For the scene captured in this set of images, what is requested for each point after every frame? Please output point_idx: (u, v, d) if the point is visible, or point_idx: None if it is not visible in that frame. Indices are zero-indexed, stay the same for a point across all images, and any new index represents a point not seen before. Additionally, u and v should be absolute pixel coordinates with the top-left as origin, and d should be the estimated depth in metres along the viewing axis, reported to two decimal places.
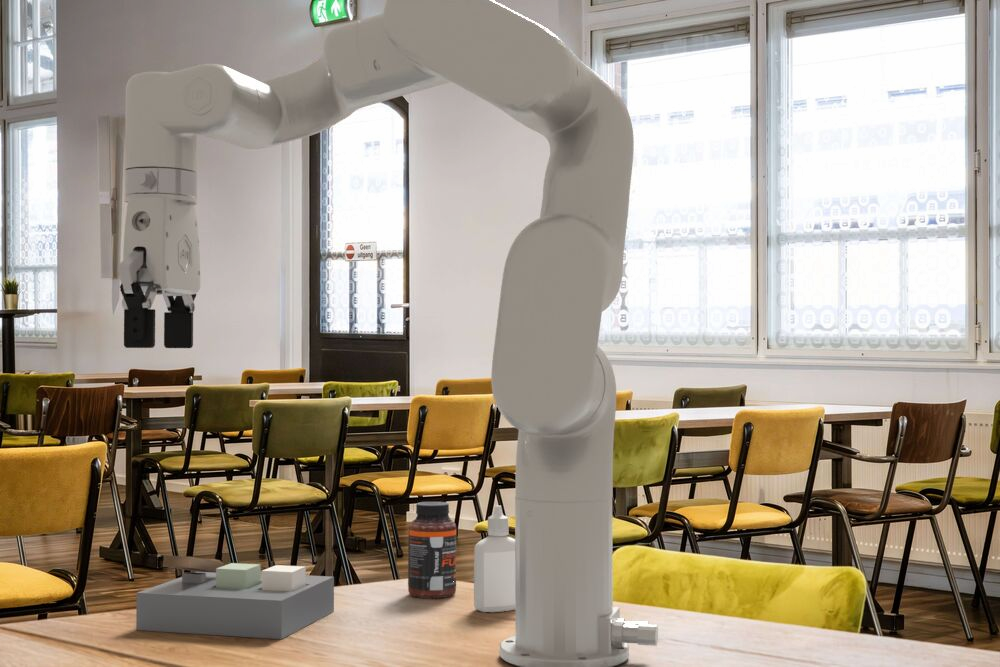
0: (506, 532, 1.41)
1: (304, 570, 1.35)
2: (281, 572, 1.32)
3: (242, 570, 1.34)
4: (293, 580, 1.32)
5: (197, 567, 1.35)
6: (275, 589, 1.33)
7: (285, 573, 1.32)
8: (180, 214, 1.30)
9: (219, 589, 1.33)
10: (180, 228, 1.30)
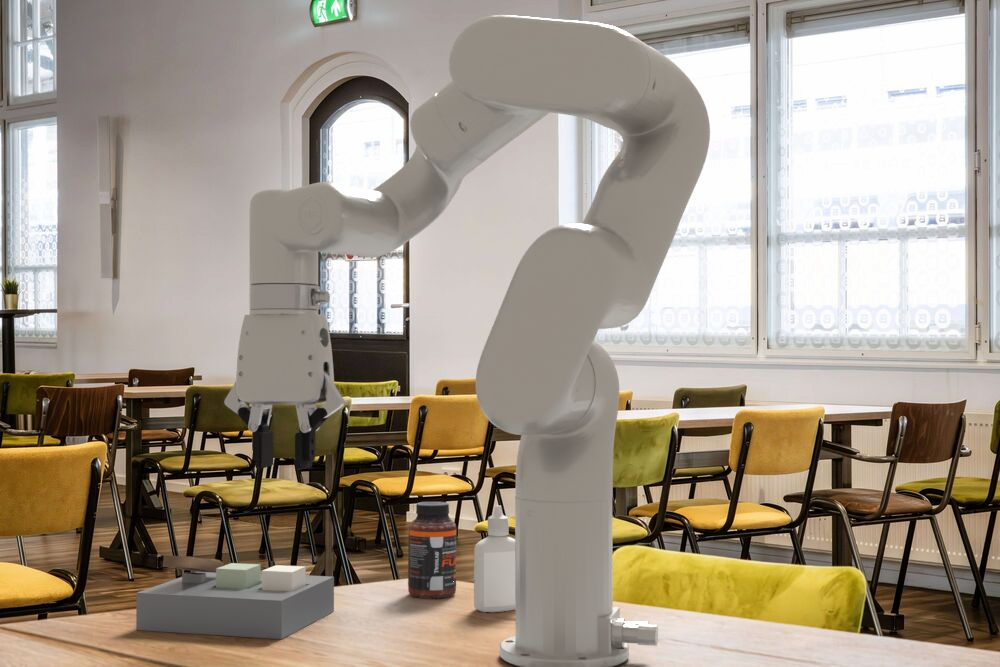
0: (506, 532, 1.41)
1: (304, 570, 1.35)
2: (281, 572, 1.32)
3: (242, 570, 1.34)
4: (293, 580, 1.32)
5: (197, 567, 1.35)
6: (275, 589, 1.33)
7: (285, 573, 1.32)
8: None
9: (219, 589, 1.33)
10: None
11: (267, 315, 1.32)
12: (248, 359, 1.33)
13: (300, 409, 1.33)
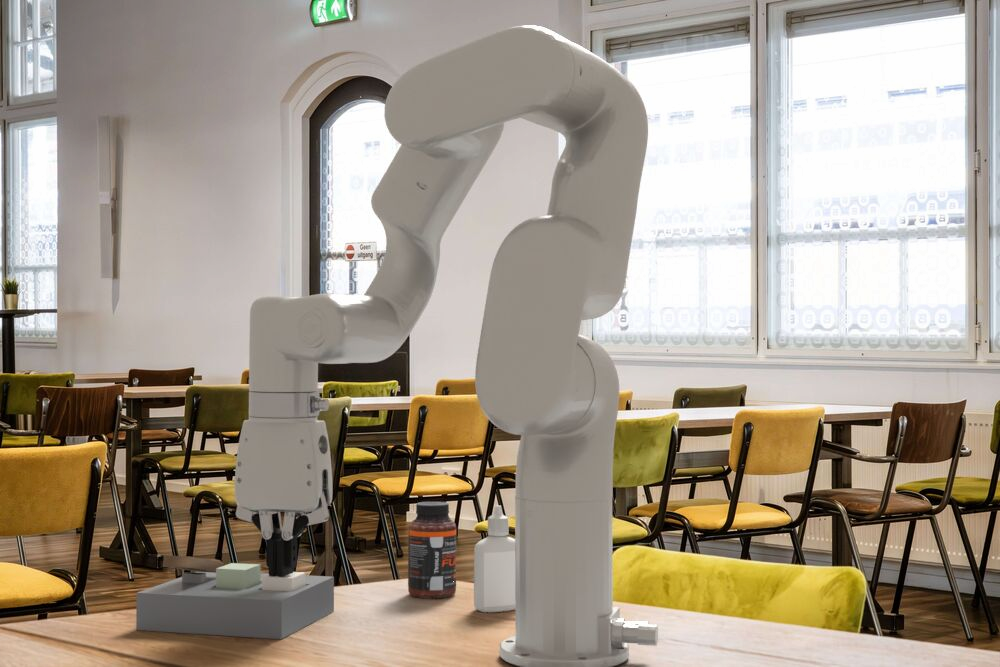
0: (506, 532, 1.41)
1: (304, 576, 1.35)
2: (281, 578, 1.32)
3: (242, 570, 1.34)
4: (293, 586, 1.32)
5: (197, 567, 1.35)
6: None
7: (285, 579, 1.32)
8: None
9: (219, 589, 1.33)
10: None
11: (266, 423, 1.32)
12: (247, 466, 1.33)
13: (288, 516, 1.33)
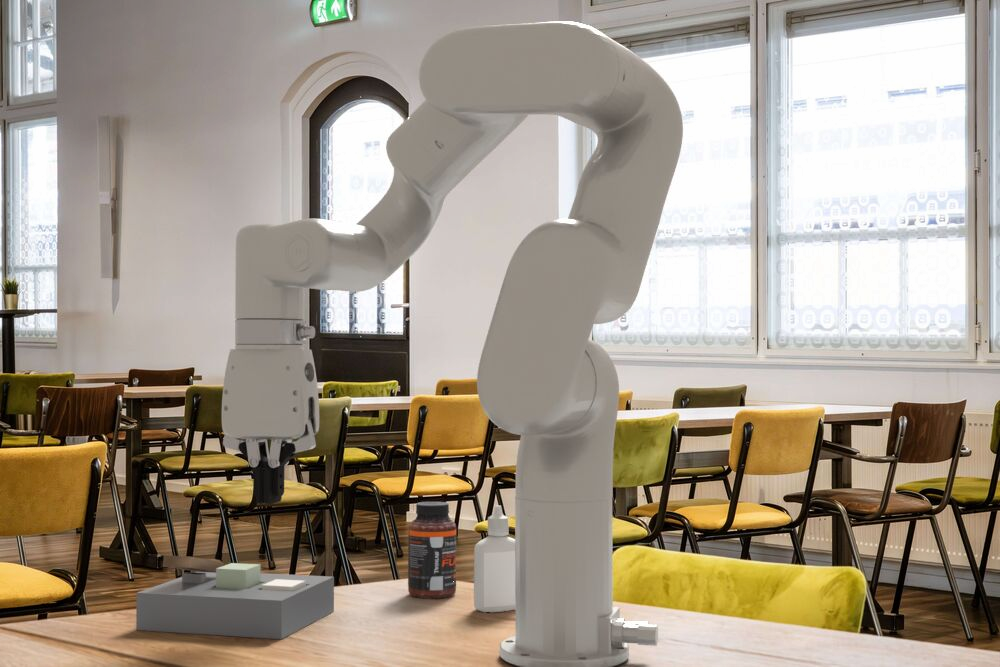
0: (506, 532, 1.41)
1: (304, 584, 1.35)
2: (281, 586, 1.32)
3: (242, 570, 1.34)
4: None
5: (197, 567, 1.35)
6: None
7: (285, 587, 1.32)
8: None
9: (219, 589, 1.33)
10: None
11: (252, 350, 1.32)
12: (233, 394, 1.33)
13: (275, 443, 1.33)
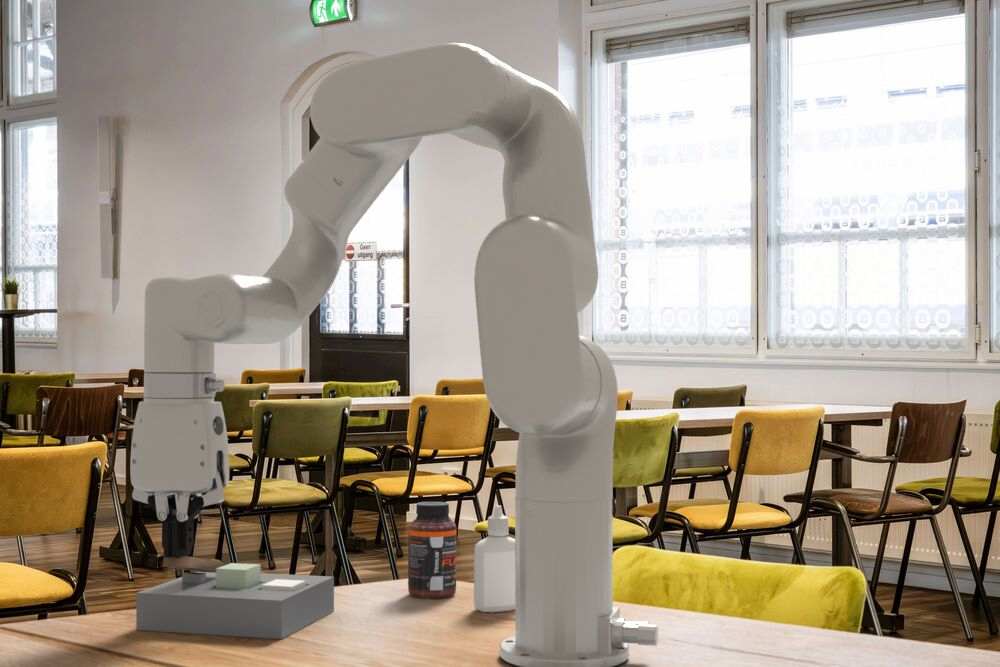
0: (506, 532, 1.41)
1: (304, 584, 1.35)
2: (281, 586, 1.32)
3: (242, 570, 1.34)
4: None
5: (197, 567, 1.35)
6: None
7: (285, 587, 1.32)
8: None
9: (219, 589, 1.33)
10: None
11: (160, 404, 1.32)
12: (141, 447, 1.33)
13: (183, 497, 1.32)
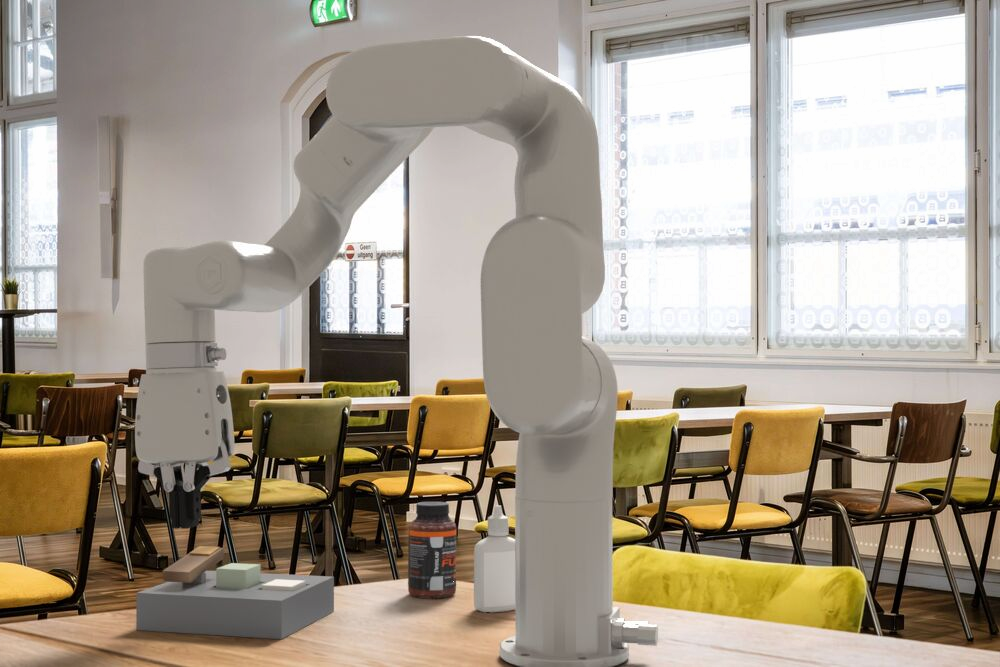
0: (506, 532, 1.41)
1: (304, 584, 1.35)
2: (281, 586, 1.32)
3: (242, 570, 1.34)
4: None
5: (198, 575, 1.35)
6: None
7: (285, 587, 1.32)
8: None
9: (219, 589, 1.33)
10: None
11: (163, 374, 1.32)
12: (145, 419, 1.33)
13: (189, 467, 1.32)
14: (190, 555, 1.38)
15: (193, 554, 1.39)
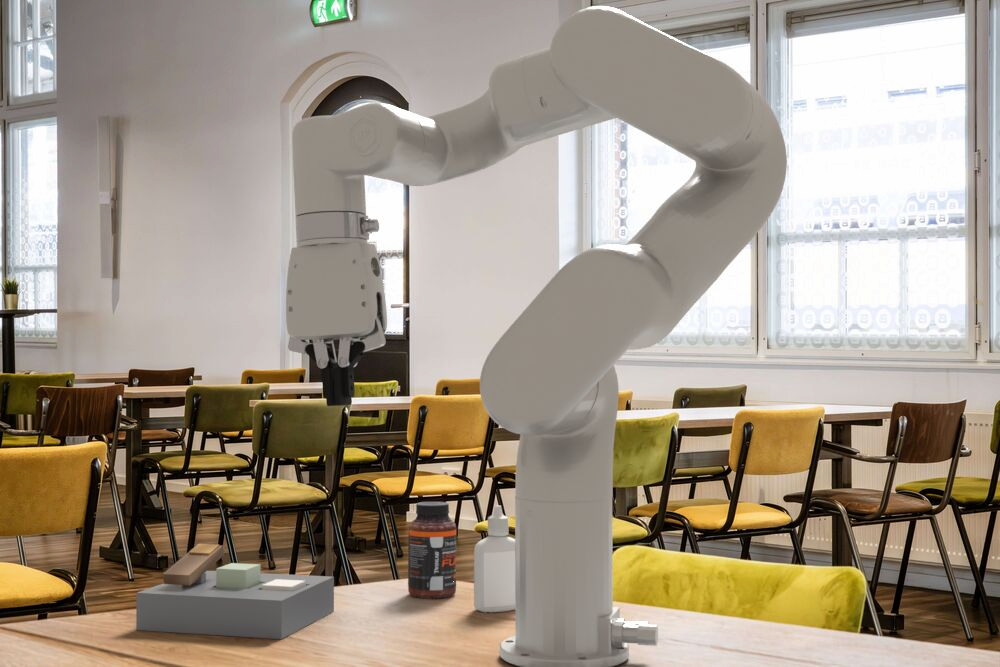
0: (506, 532, 1.41)
1: (304, 584, 1.35)
2: (281, 586, 1.32)
3: (242, 570, 1.34)
4: None
5: (198, 576, 1.35)
6: None
7: (285, 587, 1.32)
8: None
9: (219, 589, 1.33)
10: None
11: (316, 246, 1.28)
12: (298, 293, 1.28)
13: (343, 342, 1.28)
14: (190, 554, 1.38)
15: (193, 553, 1.38)
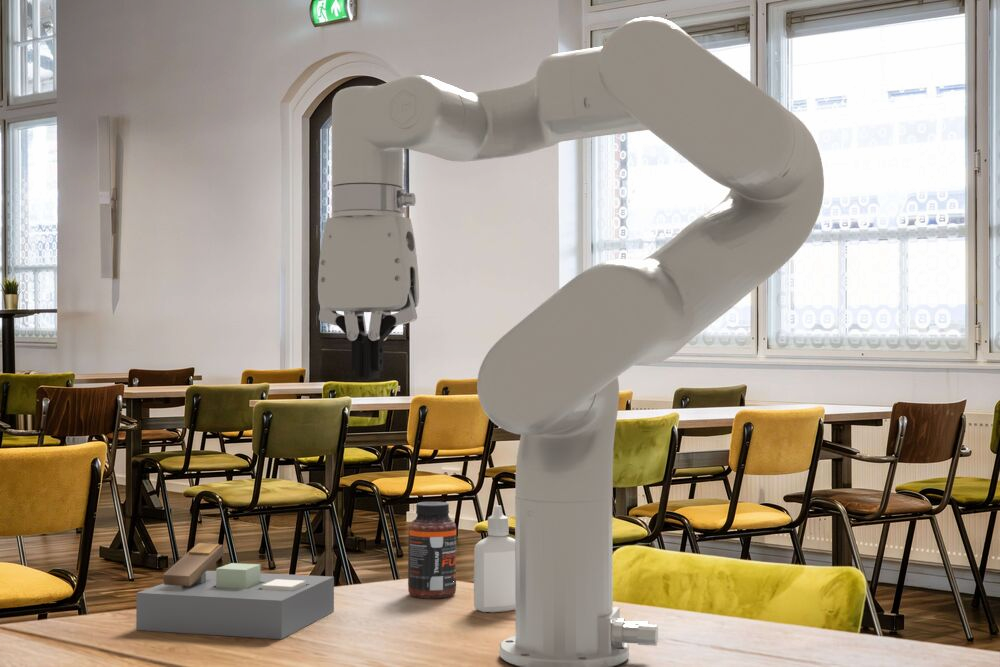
0: (506, 532, 1.41)
1: (304, 584, 1.35)
2: (281, 586, 1.32)
3: (242, 570, 1.34)
4: None
5: (198, 576, 1.35)
6: None
7: (285, 587, 1.32)
8: None
9: (219, 589, 1.33)
10: None
11: (351, 217, 1.27)
12: (331, 264, 1.28)
13: (375, 315, 1.27)
14: (190, 554, 1.38)
15: (193, 553, 1.38)
